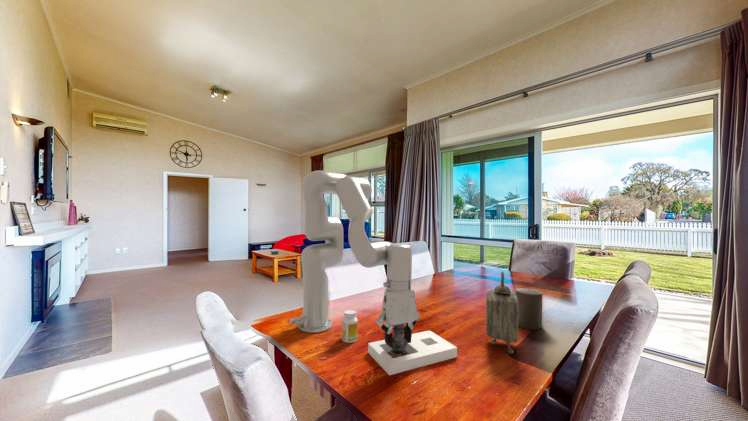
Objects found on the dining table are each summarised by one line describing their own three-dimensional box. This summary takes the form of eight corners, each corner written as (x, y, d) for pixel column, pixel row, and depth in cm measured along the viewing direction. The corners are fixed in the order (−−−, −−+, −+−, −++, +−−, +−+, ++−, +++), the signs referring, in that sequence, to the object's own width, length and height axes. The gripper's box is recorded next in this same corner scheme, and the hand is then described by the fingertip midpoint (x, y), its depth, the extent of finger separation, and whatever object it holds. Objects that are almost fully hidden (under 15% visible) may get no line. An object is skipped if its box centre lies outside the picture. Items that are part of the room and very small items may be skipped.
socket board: (389, 375, 80) (389, 364, 80) (368, 352, 93) (368, 343, 93) (456, 357, 91) (457, 347, 91) (429, 338, 103) (429, 330, 103)
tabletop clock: (517, 358, 91) (518, 277, 91) (486, 352, 94) (487, 275, 94) (512, 338, 104) (514, 269, 104) (485, 334, 107) (486, 266, 107)
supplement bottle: (359, 337, 104) (360, 310, 103) (353, 344, 98) (354, 315, 98) (345, 335, 105) (346, 308, 105) (339, 341, 100) (339, 313, 100)
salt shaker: (406, 358, 86) (407, 318, 86) (387, 356, 87) (387, 316, 87) (408, 349, 92) (409, 311, 92) (390, 347, 93) (390, 309, 93)
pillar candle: (536, 332, 110) (537, 292, 110) (510, 324, 118) (511, 286, 118) (545, 325, 117) (546, 288, 117) (520, 318, 124) (521, 283, 124)
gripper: (379, 290, 82) (378, 354, 83) (429, 284, 90) (428, 343, 90) (368, 284, 89) (367, 343, 89) (415, 279, 97) (414, 333, 97)
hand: (398, 342), depth 90 cm, fingers closed on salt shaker, 5 cm apart
